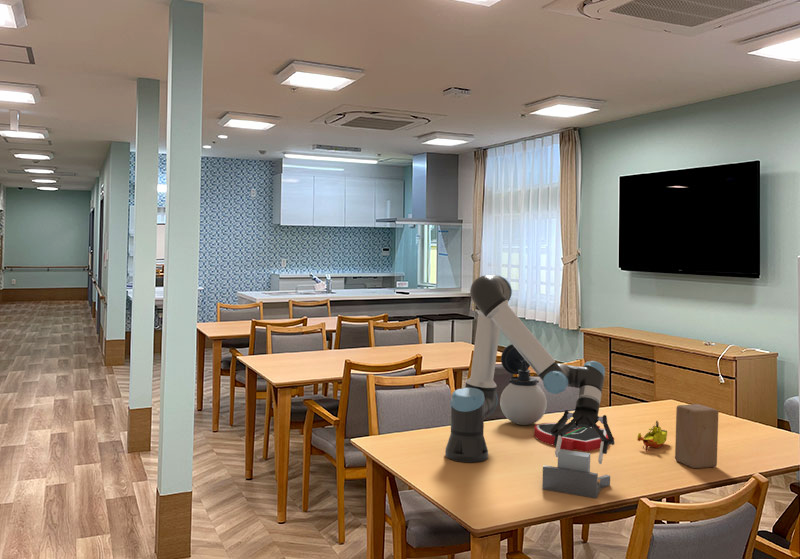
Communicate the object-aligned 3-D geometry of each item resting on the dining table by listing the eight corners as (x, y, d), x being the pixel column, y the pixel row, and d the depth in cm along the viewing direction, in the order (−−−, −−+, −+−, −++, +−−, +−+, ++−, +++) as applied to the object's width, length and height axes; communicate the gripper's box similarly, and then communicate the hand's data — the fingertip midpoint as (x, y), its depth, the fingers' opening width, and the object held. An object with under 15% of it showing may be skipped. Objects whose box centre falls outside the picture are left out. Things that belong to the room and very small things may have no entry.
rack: (546, 474, 210) (546, 453, 210) (610, 484, 201) (610, 462, 201) (535, 488, 197) (536, 465, 197) (603, 499, 188) (604, 476, 188)
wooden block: (693, 469, 218) (695, 411, 217) (673, 460, 227) (675, 404, 227) (718, 467, 220) (719, 409, 220) (697, 458, 230) (699, 403, 229)
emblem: (550, 417, 274) (620, 429, 255) (550, 426, 274) (620, 439, 256) (517, 431, 250) (593, 446, 231) (517, 441, 250) (592, 456, 231)
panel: (560, 483, 201) (560, 449, 201) (589, 488, 197) (590, 453, 197) (557, 488, 197) (557, 452, 197) (587, 493, 193) (588, 457, 193)
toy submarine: (636, 450, 240) (636, 423, 239) (656, 441, 252) (657, 415, 252) (653, 453, 235) (653, 426, 235) (673, 444, 248) (674, 418, 248)
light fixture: (505, 430, 264) (507, 350, 264) (493, 416, 287) (494, 343, 286) (552, 430, 266) (554, 350, 265) (536, 416, 289) (537, 343, 288)
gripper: (627, 413, 214) (619, 470, 201) (553, 404, 225) (541, 458, 212) (626, 400, 209) (617, 458, 196) (549, 392, 220) (537, 446, 207)
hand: (577, 458), depth 204 cm, fingers open, 13 cm apart
